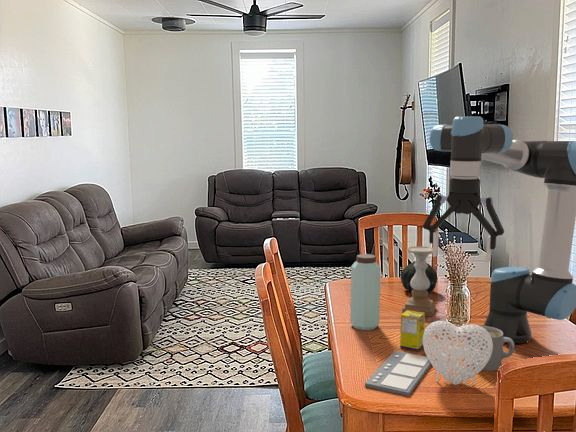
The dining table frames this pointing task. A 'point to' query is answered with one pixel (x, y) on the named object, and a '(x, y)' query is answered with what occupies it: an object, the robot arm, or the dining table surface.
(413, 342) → the supplement box
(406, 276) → the squash
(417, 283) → the candle holder
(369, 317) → the water bottle
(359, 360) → the dining table surface
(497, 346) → the coffee mug
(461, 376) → the decorative heart
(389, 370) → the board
